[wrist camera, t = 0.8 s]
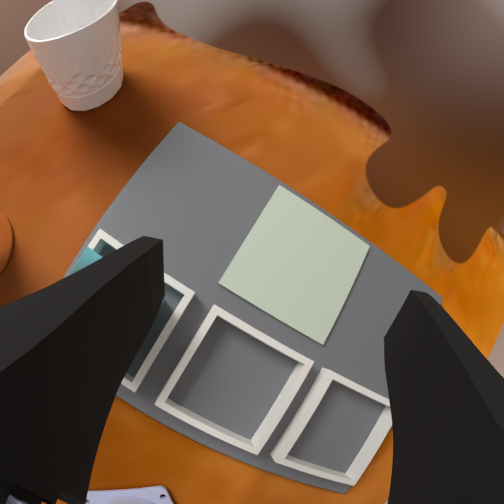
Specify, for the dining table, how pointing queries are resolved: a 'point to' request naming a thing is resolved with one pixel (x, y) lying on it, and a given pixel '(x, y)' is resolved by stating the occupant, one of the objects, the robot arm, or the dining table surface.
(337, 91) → the dining table surface
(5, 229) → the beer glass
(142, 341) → the robot arm
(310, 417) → the organizer board
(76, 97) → the white cup
